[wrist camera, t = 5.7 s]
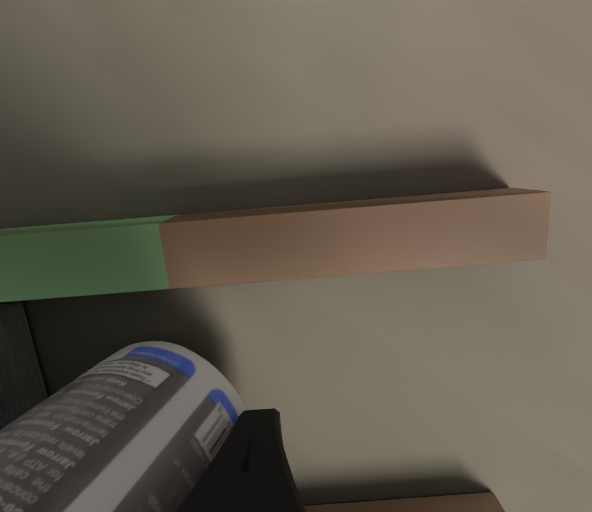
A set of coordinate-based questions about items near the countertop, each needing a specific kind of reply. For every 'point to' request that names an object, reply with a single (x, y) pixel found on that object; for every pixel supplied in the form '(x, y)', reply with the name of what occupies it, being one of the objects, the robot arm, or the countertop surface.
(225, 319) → the countertop surface
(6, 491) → the pill bottle
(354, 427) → the countertop surface
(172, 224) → the gauge rails
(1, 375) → the small grey block
